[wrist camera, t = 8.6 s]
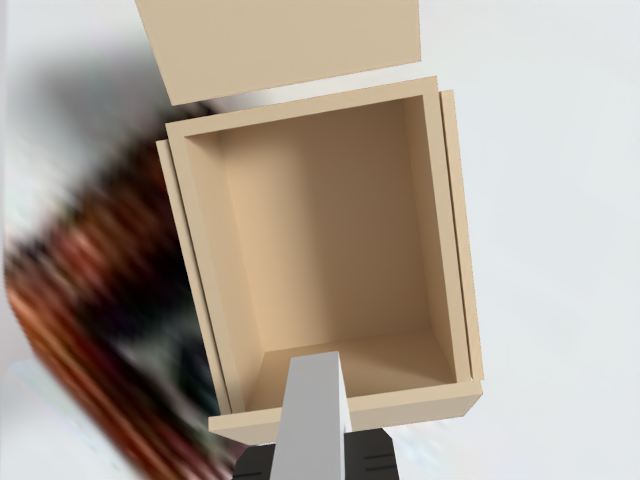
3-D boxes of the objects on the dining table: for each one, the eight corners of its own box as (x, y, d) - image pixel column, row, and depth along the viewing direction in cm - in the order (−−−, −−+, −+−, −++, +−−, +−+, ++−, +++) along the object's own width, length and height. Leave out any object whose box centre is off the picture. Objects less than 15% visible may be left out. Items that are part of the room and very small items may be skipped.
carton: (193, 122, 36) (148, 126, 27) (423, 81, 35) (452, 72, 26) (246, 361, 40) (221, 431, 31) (452, 331, 39) (486, 394, 30)
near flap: (174, 101, 27) (115, -67, 22) (418, 57, 26) (409, -126, 21) (171, 105, 26) (111, -65, 22) (421, 61, 25) (412, -126, 21)
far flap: (249, 434, 31) (208, 417, 24) (461, 405, 30) (479, 379, 23) (249, 445, 31) (208, 431, 24) (463, 416, 30) (483, 393, 23)
